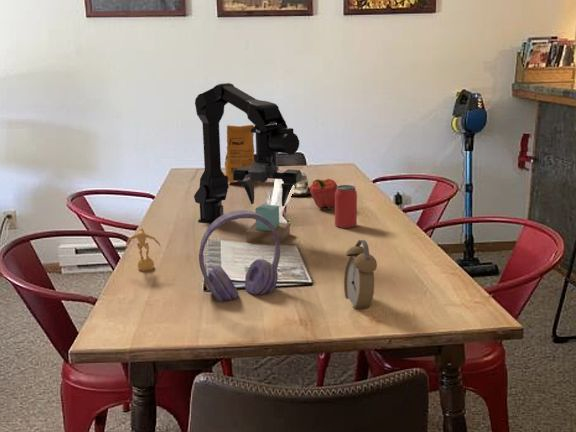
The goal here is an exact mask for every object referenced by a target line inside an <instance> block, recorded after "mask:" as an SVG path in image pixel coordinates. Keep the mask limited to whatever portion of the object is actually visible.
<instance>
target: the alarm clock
mask: <svg viewBox="0 0 576 432" xmlns="http://www.w3.org/2000/svg"><path fill="white" fill-rule="evenodd" d="M361 245H362V246H361ZM346 256H347V257H348V259H347V260H346V263H345V267H344V273H343V275H344V277H343V292H344V297H345V299H346V300H349V302H350V303H351V304H352V305H353V306H352V308H353V310H354V309H368V308H370V306H371V304H372V303H373V302H372V301H373V298H374V295H375V294H374V291H375V275H374V272H375V271H376V270H377V266H378V263H377V262H378V261H377V260H376V258H375V257H374V256H373V255H371V253H370V249H369V244H368V242H367V241H366V240H365V239H358V240H357V242H356V243H355V245H354V246H352V247H350V248H349V249H347V251H346Z"/></svg>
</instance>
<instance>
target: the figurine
mask: <svg viewBox="0 0 576 432" xmlns="http://www.w3.org/2000/svg"><path fill="white" fill-rule="evenodd" d="M147 238H148V239H150V240H154V242H155V243H156V244H158V246H159V247H161V244H160V242H159V241H158V240H157V239H156V237H154V236H153V235H152V236H151V235H150V234H147V233H146V232H145V230H144V228H141V227H140V229H139V230H138V232H137V233H136V234H133V236H131V237H129V238H128V239H127V241H126V243H125V248H128V246H129V243H130V242H131V240H134V239H137V243H136V246H137V249H138V250H139V251H138V253H139V255H140V259H138V262H137V269H138V270H139V271H141V272H142V271H143V272H146V271H151V270H153V269H154V268H155V261H154V260H153V259H152V258H151V257H150V256H149V253H150V251H149V250H150V246H149V242H146V241H147V240H146V239H147ZM143 248H144V249H146V251H145V256H143V251H142V250H143Z"/></svg>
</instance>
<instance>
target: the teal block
mask: <svg viewBox="0 0 576 432" xmlns="http://www.w3.org/2000/svg"><path fill="white" fill-rule="evenodd" d="M254 213H257V214H259V215H261V216H262V217H264V218H265V219H266V220H268V221H269V222H270V223H271V224H272V225H273V226H274V228H275V229H276V228H277V227H279V223H280V205H275V204H273V205H272V204H265V203H264V204H261V205H258V207H256V208H255V211H254ZM255 222H256V229H258V230H267V231H271V230H270V228H269V227H268V226H267V225H266V224H265V223H263V222H261V221H259V220H256V219H255Z"/></svg>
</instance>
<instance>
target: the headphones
mask: <svg viewBox="0 0 576 432" xmlns="http://www.w3.org/2000/svg"><path fill="white" fill-rule="evenodd" d="M240 219H252V220H255V221H256V220H259V221H261V222H263V223H265V224H266V225H267V226H268V227H269V228H270V230H271V231H272V233H273V235H274V238H275V241H276V242H275V244H274V245H275V246H274V247H275V248H274V256H273V259H272V263H271V262H270V261H267V260H266V259H263V258H258V259H255V260H254V261H253V262H252V263H251V264H250V266H249V267H248V269H247V272H246V275H245V280H244V288H245V290H246V292H247V293H248V294H250V295H255V296H256V295H265V294H272V293H273V291H274V290H275V288H276V286H277V283H278V278H279V277H278V267H279V262H280V258H281V244H280V242H279V237H278V234H277V231H276V229H275V228H274V226H273V225H272V224H271V223H270V222H269V221H268V220H266V219H265V218H264V217H262V216H261V215H259V214H257V213H255V211H251V210H247V209H245V210H244V209H239V210H233V211H229V212H226V213H224V214H223V215H222V216H220V217H219V218H217V219H216V220H215V221H214V222H213V223H210V225H209V226H208V227H207V229H206V230H205V232H204V233H203V236H202V238H201V241H200V245H199V251H198V263H199V268H200V270H201V273H202V274H201V275H202V276H203V279H204V284H205V285H206V286H207V288H208V290H209V291H210V293H211V294H212V296H214V298H215V299H216V300H217V302H219V303H221V302H224V301H232V300H234V299H236V298H237V297H238V296H239V292H238V289H237V287H236V285H235V284H234V282H233V281H232V279H231V278H230V277H229V275H228V274H227V272H226V271H225V270H224V268H222V266H221V265H216V266H214V267H213V268H212V269H211V270H209V271H208V273H207V270H206V266H205V262H204V261H205V259H204V258H205V257H204V256H205V255H204V251H205V246H206V244H207V242H208V240H209V238H210V236H212V234H213V232H215V231H216V230H217V229H218V228H220V227H221V226H222V225H224V224H226V223H229V222H231V221H235V220H240Z"/></svg>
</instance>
